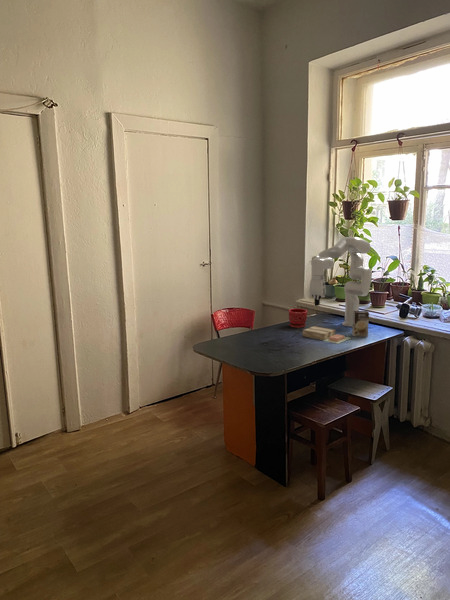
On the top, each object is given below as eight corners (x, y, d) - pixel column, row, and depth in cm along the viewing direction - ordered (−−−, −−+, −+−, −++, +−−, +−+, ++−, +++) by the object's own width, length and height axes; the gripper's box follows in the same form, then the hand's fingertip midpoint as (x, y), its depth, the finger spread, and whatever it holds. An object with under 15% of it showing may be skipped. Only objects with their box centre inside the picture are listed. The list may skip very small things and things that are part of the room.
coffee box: (353, 336, 289) (354, 312, 286) (351, 334, 296) (352, 310, 293) (368, 336, 288) (369, 312, 285) (366, 334, 295) (367, 310, 292)
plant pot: (287, 328, 314) (287, 311, 312) (290, 323, 327) (290, 307, 324) (305, 329, 311) (306, 312, 308) (308, 324, 323) (308, 308, 321)
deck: (314, 331, 303) (314, 326, 303) (335, 335, 292) (335, 329, 292) (302, 336, 294) (302, 330, 293) (323, 340, 283) (323, 334, 282)
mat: (336, 335, 293) (336, 335, 293) (350, 338, 286) (351, 337, 286) (323, 340, 282) (323, 340, 282) (338, 343, 274) (338, 343, 274)
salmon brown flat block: (344, 335, 283) (344, 338, 284) (336, 334, 288) (336, 337, 288) (337, 338, 277) (337, 341, 278) (328, 337, 281) (328, 340, 282)
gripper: (330, 277, 285) (330, 305, 288) (310, 275, 295) (310, 302, 298) (324, 279, 279) (323, 307, 283) (304, 277, 290) (304, 304, 293)
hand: (317, 305), depth 291 cm, fingers closed
